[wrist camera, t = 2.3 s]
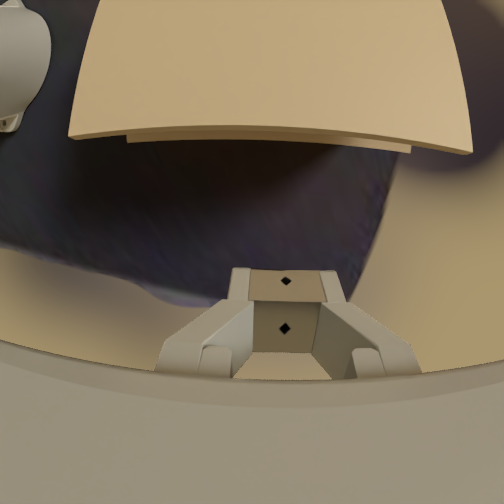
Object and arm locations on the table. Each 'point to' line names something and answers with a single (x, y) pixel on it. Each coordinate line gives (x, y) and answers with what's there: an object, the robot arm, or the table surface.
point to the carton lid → (274, 70)
